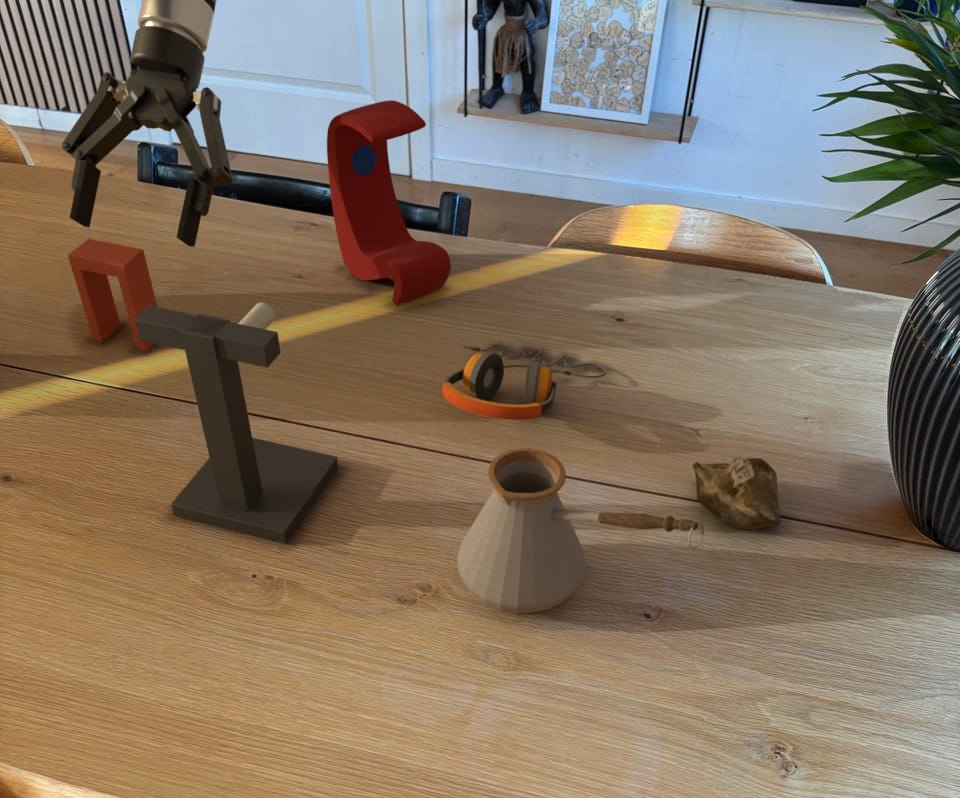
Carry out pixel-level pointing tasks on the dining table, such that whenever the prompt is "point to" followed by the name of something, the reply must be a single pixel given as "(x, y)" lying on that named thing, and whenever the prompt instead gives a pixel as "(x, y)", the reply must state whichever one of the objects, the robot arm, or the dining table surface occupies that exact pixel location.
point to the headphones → (486, 380)
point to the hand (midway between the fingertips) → (131, 232)
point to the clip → (95, 291)
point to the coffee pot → (534, 535)
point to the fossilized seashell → (739, 492)
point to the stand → (237, 428)
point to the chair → (378, 203)
